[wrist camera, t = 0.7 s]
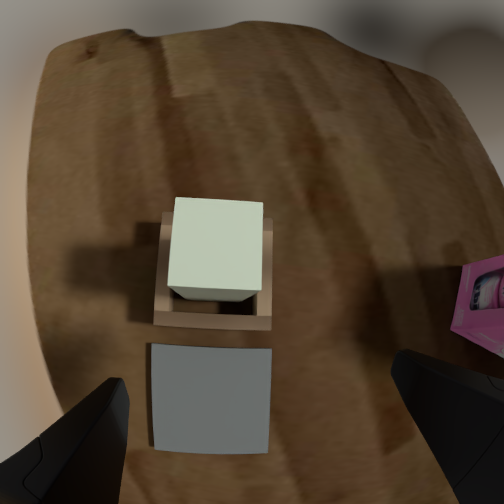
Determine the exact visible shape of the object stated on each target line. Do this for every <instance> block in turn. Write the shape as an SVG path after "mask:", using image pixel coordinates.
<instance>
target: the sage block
mask: <svg viewBox="0 0 504 504" xmlns="http://www.w3.org/2000/svg"><path fill="white" fill-rule="evenodd" d="M262 232H263V203H260V202H247V201H233V200H217V199H200V198H180V197H176V200H175V208H174V217H173V226H172V236H171V247H170V258H169V271H168V286H169V287H170V288H171V289H173V290H174V291H175V292H177V293H178V294H180V295H181V296H182V297H184V298H185V299H186V300H198V301H218V302H241V301H243V300H245V299H246V298H248V297H250V296H252V295H254V294H256V293H257V292H259V291H261V287H262Z"/></svg>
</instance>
